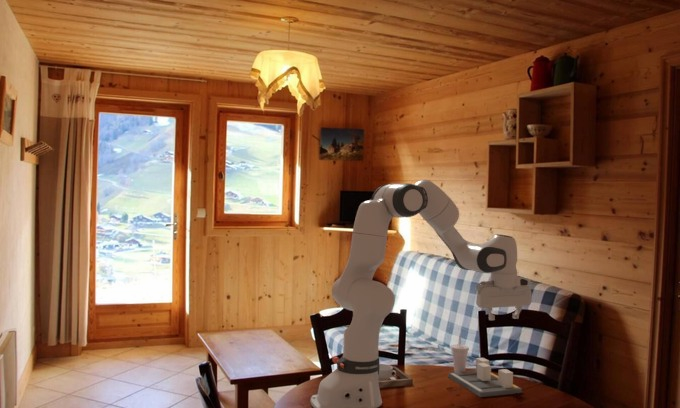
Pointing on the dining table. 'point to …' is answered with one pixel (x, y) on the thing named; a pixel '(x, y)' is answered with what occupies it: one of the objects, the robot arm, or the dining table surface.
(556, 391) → the dining table surface
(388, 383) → the square wooden tray
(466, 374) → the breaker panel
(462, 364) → the smoothie
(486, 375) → the white rectangular block
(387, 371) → the teacup
